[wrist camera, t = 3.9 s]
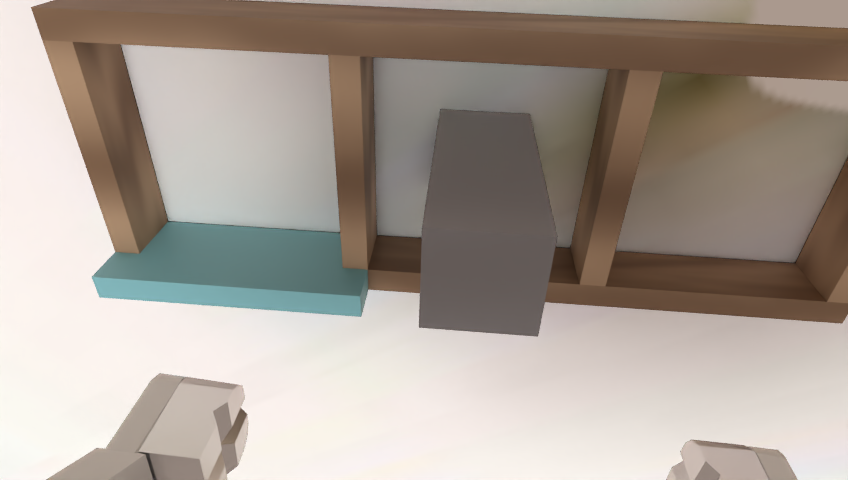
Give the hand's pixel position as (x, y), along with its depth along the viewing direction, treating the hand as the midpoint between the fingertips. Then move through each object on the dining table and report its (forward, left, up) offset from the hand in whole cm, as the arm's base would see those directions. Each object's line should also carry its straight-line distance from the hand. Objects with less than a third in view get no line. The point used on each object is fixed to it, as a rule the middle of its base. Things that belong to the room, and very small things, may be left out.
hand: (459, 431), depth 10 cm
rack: (+2, +1, -17) cm, 17 cm away
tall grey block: (+2, +1, -17) cm, 17 cm away
